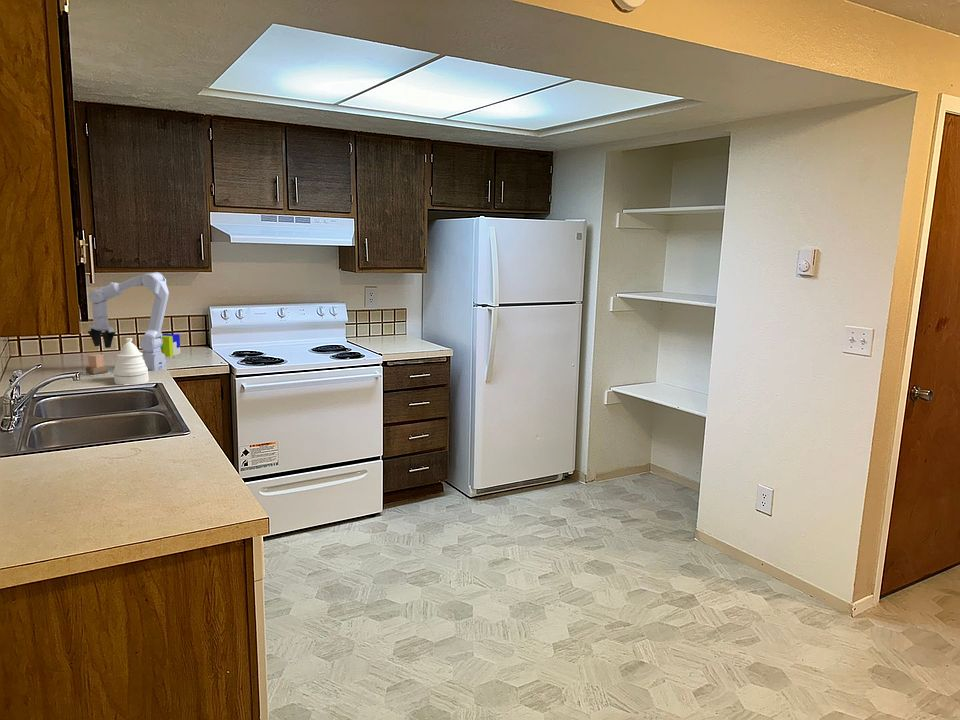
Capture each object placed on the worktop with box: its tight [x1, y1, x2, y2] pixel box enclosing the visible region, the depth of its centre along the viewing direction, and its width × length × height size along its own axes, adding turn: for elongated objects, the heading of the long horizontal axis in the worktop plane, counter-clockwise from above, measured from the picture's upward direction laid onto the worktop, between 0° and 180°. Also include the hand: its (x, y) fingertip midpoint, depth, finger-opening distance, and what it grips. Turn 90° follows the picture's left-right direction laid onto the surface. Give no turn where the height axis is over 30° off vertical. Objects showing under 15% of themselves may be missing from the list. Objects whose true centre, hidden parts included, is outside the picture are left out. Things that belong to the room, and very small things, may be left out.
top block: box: [87, 353, 105, 368], centre depth 290 cm, size 4×4×5 cm
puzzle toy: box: [160, 333, 181, 358], centre depth 343 cm, size 10×10×10 cm
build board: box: [79, 366, 115, 378], centre depth 295 cm, size 12×18×1 cm, turn 149°
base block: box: [85, 365, 108, 375], centre depth 290 cm, size 6×6×3 cm
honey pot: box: [113, 337, 150, 386], centre depth 280 cm, size 13×13×18 cm
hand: (102, 346), depth 302 cm, fingers open, 7 cm apart
